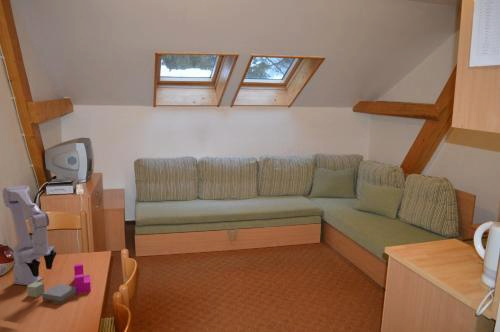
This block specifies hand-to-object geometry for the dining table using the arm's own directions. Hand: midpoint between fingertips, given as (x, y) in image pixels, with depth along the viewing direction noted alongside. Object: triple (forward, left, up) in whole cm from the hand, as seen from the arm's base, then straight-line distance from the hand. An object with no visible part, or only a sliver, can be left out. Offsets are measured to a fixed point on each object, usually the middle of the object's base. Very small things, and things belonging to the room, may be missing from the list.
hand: (42, 272), depth 170 cm
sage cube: (-3, -2, -10) cm, 10 cm away
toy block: (+11, +11, -10) cm, 18 cm away
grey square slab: (+9, -2, -10) cm, 14 cm away
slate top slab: (+9, -2, -8) cm, 12 cm away
